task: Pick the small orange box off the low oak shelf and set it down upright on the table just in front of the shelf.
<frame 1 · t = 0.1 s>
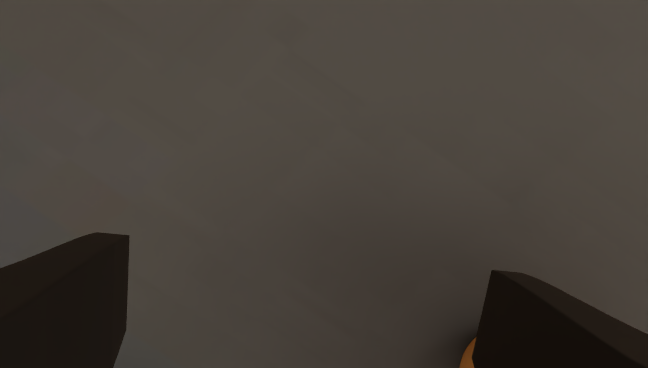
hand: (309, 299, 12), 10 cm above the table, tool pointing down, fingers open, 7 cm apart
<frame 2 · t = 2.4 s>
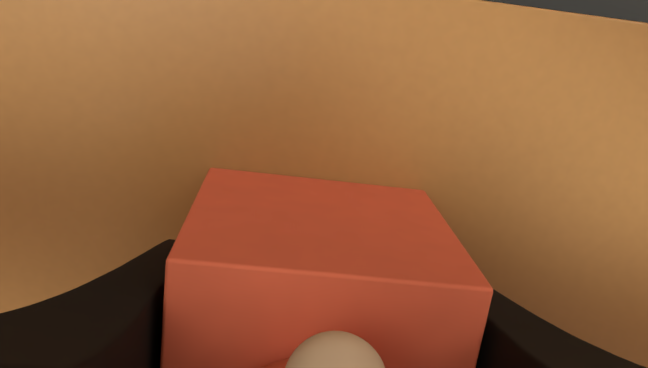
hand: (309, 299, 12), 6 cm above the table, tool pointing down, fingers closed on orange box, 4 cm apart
shelf: (336, 204, 18), on the table
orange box: (306, 276, 13), point 5 cm above the table, touching gripper, shelf
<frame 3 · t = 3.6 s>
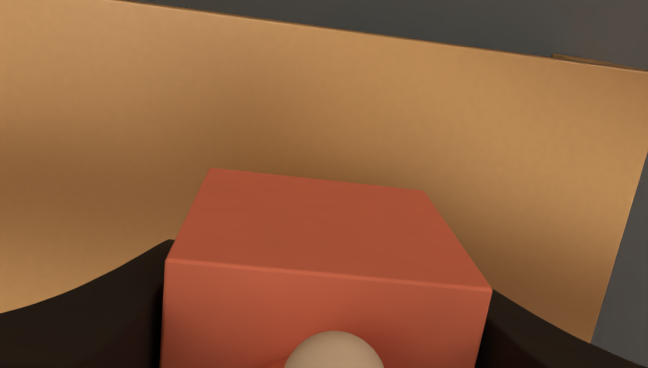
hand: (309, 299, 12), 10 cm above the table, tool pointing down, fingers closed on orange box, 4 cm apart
shelf: (310, 190, 22), on the table
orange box: (305, 276, 13), point 9 cm above the table, touching gripper
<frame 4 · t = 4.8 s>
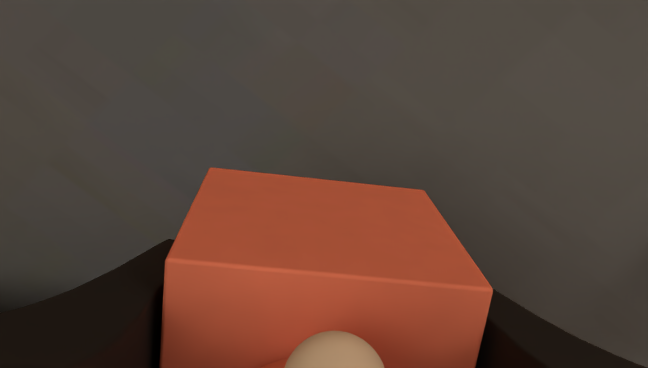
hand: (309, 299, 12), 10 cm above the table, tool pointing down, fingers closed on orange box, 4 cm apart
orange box: (305, 276, 13), point 9 cm above the table, touching gripper
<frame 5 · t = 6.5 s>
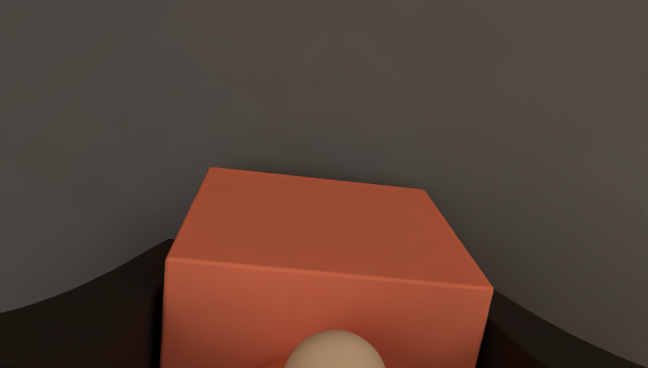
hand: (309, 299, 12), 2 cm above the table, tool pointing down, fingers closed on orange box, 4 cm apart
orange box: (306, 276, 13), point 1 cm above the table, touching gripper
when the fingers open (1 cm above the table, at t = 7.4 s): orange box stays where it is, on the table.
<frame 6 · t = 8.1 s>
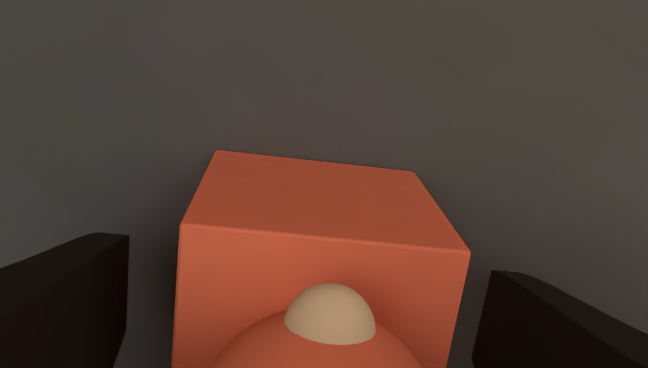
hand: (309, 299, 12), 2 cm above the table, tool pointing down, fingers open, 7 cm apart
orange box: (304, 252, 14), on the table
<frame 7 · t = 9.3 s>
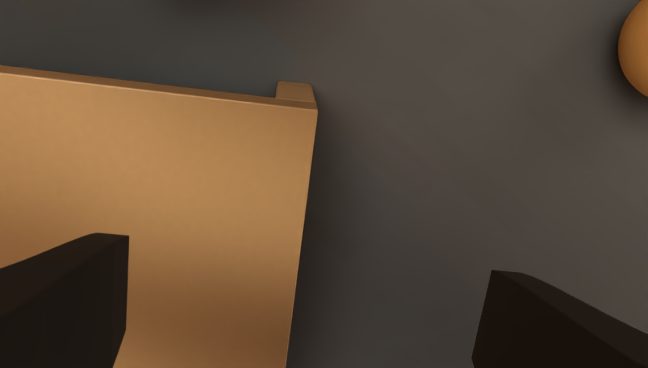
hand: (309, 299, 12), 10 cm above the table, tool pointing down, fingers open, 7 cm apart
shelf: (47, 218, 22), on the table
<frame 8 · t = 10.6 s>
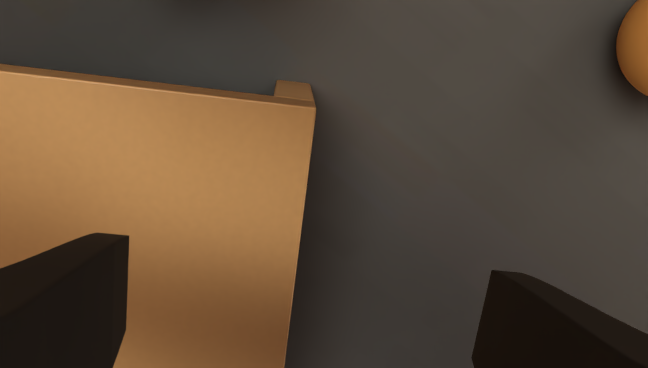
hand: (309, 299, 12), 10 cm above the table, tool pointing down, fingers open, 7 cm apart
shelf: (46, 217, 22), on the table
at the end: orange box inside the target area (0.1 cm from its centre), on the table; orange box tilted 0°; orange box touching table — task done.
